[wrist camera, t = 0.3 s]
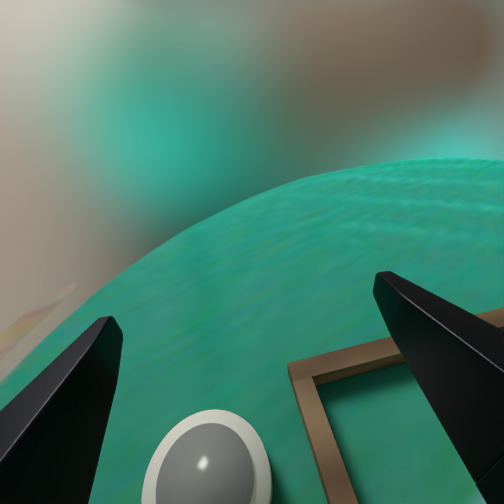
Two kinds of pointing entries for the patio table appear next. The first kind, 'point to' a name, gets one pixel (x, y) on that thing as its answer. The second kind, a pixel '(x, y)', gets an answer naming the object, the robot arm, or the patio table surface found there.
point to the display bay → (311, 409)
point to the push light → (209, 463)
